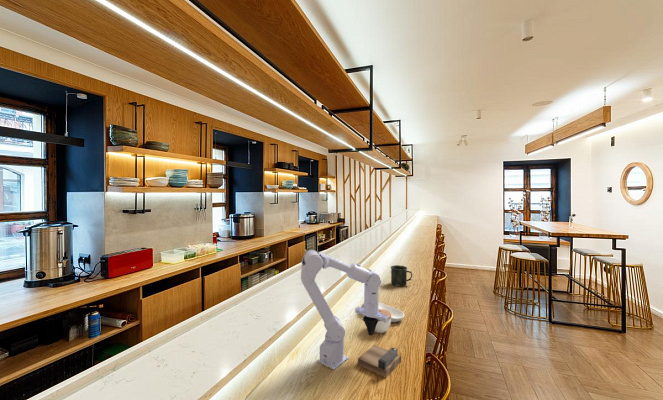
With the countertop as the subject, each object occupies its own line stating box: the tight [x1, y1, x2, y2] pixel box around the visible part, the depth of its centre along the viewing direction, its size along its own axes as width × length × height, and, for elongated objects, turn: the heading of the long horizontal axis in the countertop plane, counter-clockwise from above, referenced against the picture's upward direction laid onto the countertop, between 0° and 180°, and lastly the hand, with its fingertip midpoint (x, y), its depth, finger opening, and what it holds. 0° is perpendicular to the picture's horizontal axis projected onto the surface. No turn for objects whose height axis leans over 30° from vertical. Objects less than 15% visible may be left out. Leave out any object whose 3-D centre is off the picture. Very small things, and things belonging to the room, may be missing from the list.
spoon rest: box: [361, 301, 405, 323], centre depth 151 cm, size 24×12×7 cm, turn 55°
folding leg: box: [378, 347, 399, 370], centre depth 108 cm, size 11×2×2 cm, turn 142°
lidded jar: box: [374, 309, 392, 334], centre depth 137 cm, size 11×11×9 cm
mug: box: [390, 264, 413, 288], centre depth 200 cm, size 11×15×12 cm
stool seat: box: [357, 344, 402, 378], centre depth 111 cm, size 12×12×3 cm
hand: (371, 334), depth 116 cm, fingers closed
